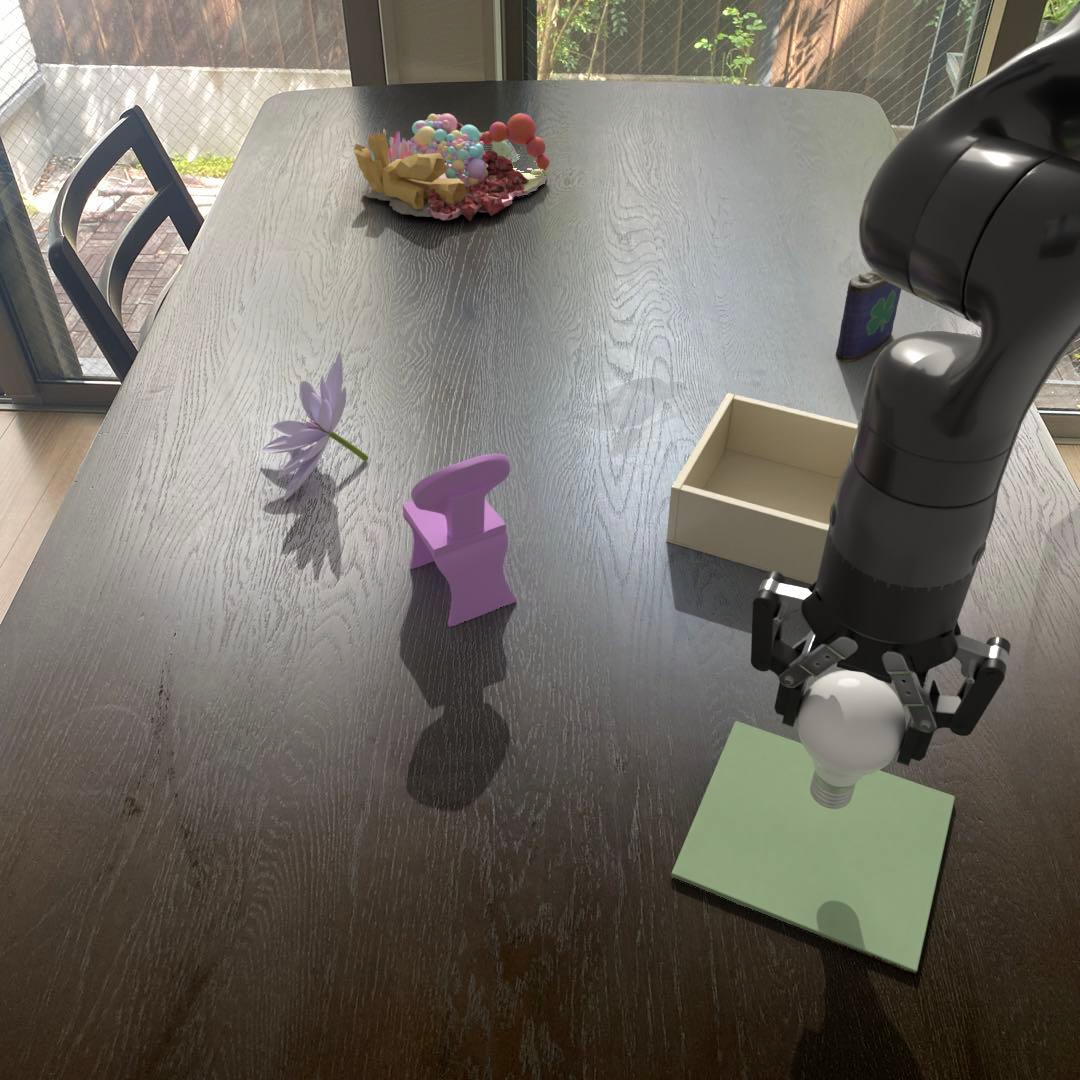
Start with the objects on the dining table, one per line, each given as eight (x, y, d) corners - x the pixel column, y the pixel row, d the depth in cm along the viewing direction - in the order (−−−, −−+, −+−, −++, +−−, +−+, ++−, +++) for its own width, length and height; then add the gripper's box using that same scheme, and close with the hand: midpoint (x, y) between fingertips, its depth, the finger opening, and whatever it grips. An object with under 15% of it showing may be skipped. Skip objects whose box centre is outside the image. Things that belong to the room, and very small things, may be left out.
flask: (877, 324, 123) (897, 237, 116) (899, 334, 122) (921, 247, 114) (829, 355, 119) (846, 267, 111) (851, 366, 117) (871, 277, 110)
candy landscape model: (474, 240, 140) (470, 170, 134) (330, 201, 149) (320, 135, 142) (568, 169, 156) (568, 104, 149) (433, 138, 165) (428, 76, 158)
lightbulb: (772, 824, 69) (797, 715, 62) (788, 747, 74) (813, 638, 66) (873, 851, 68) (911, 744, 60) (883, 771, 72) (920, 662, 65)
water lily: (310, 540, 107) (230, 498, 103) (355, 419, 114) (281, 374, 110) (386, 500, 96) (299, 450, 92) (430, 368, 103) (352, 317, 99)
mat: (953, 801, 76) (955, 796, 76) (915, 976, 67) (917, 971, 66) (734, 725, 81) (735, 720, 81) (670, 877, 72) (671, 873, 71)
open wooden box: (879, 486, 102) (893, 432, 98) (839, 592, 91) (853, 537, 87) (720, 445, 107) (727, 392, 103) (666, 541, 96) (670, 486, 92)
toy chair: (482, 536, 97) (473, 398, 87) (527, 597, 91) (524, 456, 81) (396, 567, 94) (377, 428, 84) (438, 632, 89) (422, 491, 78)
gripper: (1062, 526, 55) (977, 729, 67) (787, 455, 60) (751, 656, 71) (1045, 623, 50) (957, 825, 62) (747, 537, 55) (715, 739, 66)
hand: (846, 733), depth 66 cm, fingers closed on lightbulb, 6 cm apart
